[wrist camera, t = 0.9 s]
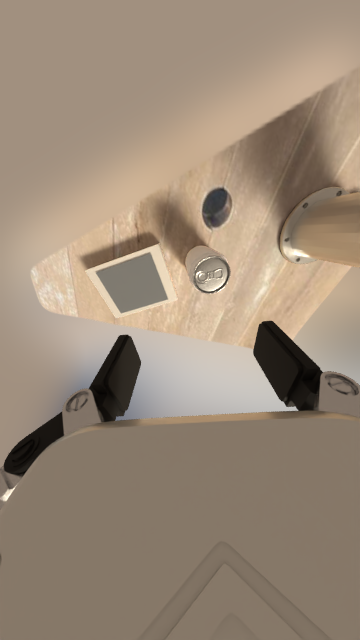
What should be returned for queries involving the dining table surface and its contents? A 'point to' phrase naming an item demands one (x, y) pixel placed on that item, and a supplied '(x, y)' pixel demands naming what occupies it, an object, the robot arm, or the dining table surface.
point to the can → (207, 269)
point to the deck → (134, 281)
